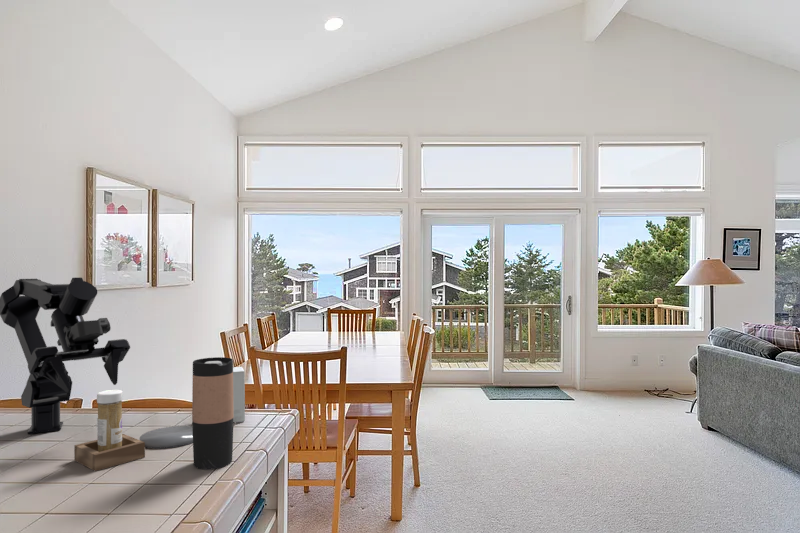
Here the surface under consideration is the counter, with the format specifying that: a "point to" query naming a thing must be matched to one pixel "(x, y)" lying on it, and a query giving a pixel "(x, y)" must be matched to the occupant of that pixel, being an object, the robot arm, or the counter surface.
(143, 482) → the counter surface
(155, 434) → the slate plate
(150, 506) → the counter surface
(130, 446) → the walnut socket
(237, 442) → the counter surface
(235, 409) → the supplement box
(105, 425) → the sprinkles bottle
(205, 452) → the travel mug
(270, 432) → the counter surface
